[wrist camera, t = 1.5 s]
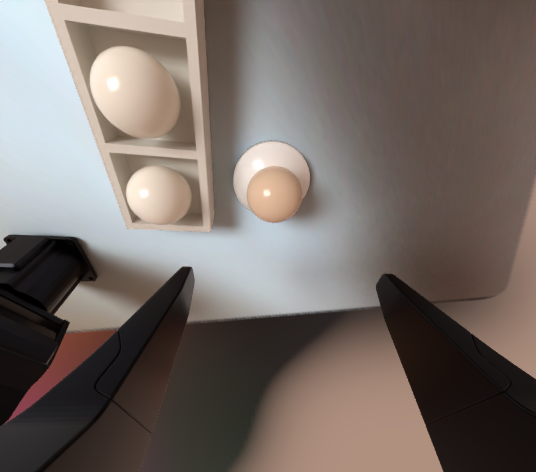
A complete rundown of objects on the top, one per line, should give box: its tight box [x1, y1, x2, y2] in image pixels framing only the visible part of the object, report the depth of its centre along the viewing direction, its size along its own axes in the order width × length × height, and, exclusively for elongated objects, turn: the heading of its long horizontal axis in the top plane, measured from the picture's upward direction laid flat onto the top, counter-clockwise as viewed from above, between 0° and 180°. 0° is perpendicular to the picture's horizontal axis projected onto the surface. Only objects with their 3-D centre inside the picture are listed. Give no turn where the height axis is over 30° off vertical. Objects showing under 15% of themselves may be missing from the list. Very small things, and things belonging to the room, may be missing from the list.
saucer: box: [233, 140, 310, 211], centre depth 20 cm, size 7×7×1 cm
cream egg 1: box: [90, 46, 181, 139], centre depth 13 cm, size 5×5×5 cm
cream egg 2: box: [126, 165, 192, 225], centre depth 17 cm, size 5×5×5 cm
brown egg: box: [247, 166, 302, 223], centre depth 18 cm, size 5×5×5 cm
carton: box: [45, 0, 215, 232], centre depth 14 cm, size 20×7×3 cm, turn 174°
